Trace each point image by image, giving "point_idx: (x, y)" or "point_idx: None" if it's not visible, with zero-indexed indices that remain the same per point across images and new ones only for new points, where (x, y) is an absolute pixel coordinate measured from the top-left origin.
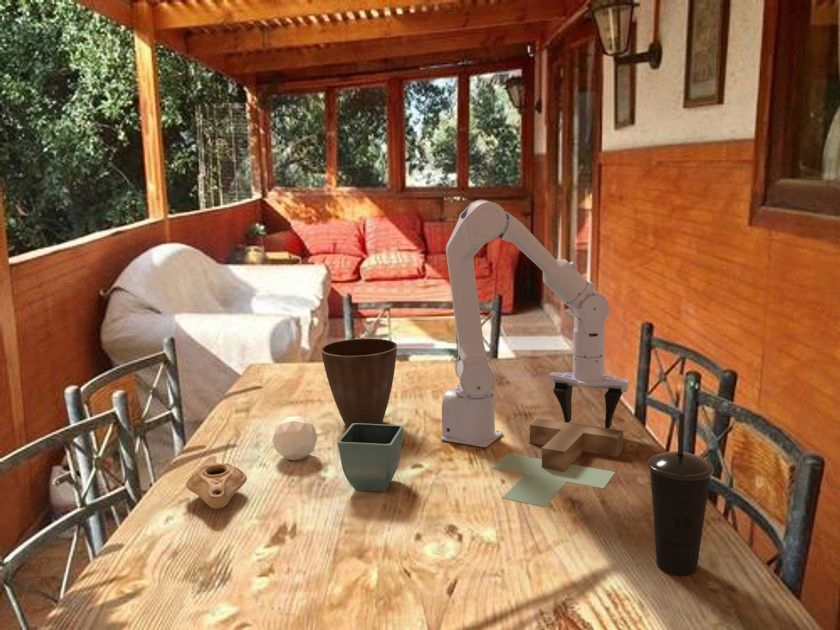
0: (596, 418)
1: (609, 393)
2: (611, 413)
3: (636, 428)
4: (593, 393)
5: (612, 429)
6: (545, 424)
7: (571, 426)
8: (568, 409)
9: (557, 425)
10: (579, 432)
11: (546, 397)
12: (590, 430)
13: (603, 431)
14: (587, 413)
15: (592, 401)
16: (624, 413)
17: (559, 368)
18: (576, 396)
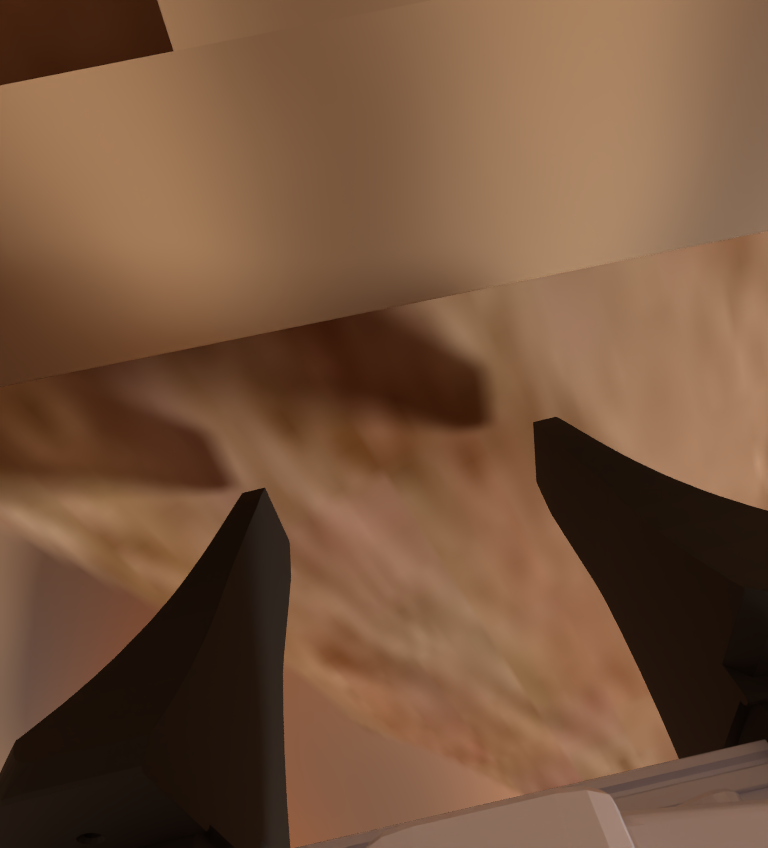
0: (450, 618)
1: (114, 808)
2: (181, 584)
3: None
4: (568, 770)
5: (23, 369)
6: (710, 68)
7: (411, 193)
8: (584, 504)
9: (567, 127)
10: (218, 30)
11: None
12: (164, 198)
13: (33, 257)
14: (514, 638)
15: (544, 727)
16: (368, 709)
17: None
18: (621, 729)
